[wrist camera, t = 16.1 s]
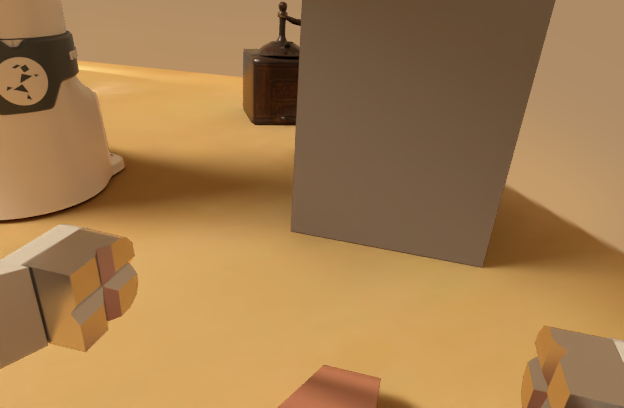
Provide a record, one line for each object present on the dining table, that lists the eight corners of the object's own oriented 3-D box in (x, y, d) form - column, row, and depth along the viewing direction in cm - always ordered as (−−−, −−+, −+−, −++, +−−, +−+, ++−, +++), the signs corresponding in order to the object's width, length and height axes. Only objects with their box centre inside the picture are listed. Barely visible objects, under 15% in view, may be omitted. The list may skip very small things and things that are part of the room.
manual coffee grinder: (253, 126, 66) (254, -10, 58) (241, 106, 76) (240, -13, 68) (352, 124, 71) (366, -3, 63) (329, 105, 80) (338, -7, 72)
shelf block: (489, 272, 36) (603, -132, 24) (283, 232, 39) (298, -137, 28) (476, 188, 51) (544, -87, 39) (328, 165, 54) (349, -94, 43)
